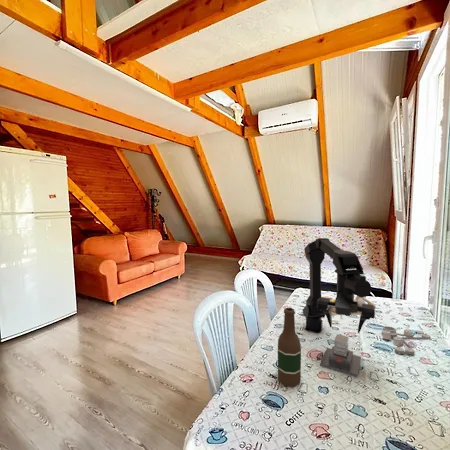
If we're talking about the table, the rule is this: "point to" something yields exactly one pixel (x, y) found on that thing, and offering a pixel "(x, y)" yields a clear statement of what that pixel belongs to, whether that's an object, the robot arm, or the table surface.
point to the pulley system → (398, 341)
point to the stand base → (341, 362)
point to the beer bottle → (289, 352)
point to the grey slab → (341, 346)
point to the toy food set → (358, 299)
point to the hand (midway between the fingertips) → (344, 329)
